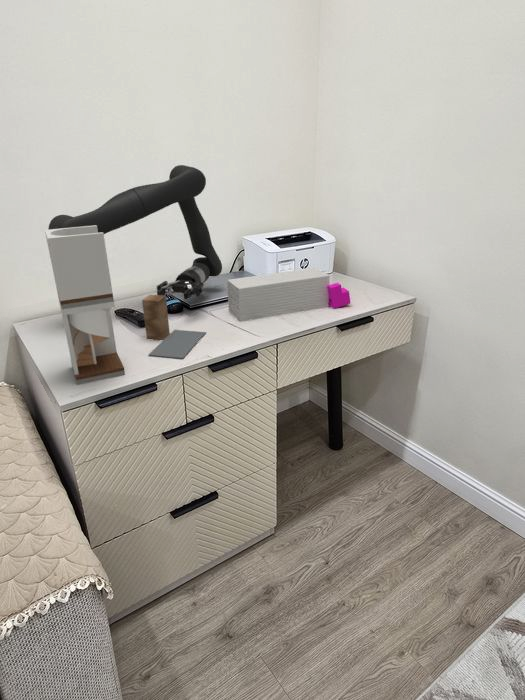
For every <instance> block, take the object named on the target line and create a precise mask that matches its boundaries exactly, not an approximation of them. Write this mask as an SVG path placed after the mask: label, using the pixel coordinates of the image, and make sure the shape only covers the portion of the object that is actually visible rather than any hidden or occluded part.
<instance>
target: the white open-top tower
mask: <svg viewBox="0 0 525 700" xmlns="http://www.w3.org/2000/svg"><path fill="white" fill-rule="evenodd" d="M44 234H45V238H46V243H47V247H48V252H49V258H50V264H51V268H52V272H53V276H54V281H55V282H54V283H55V287H56V292H57V298H58V301H59V302H58V303H59V306H60V313H61V316H62V321H63V326H64V327H63V328H64V332H65V337H66V341H67V346H68V351H69V356H70V362H71V366H72V371H73V375H74V378H75V382H76V385H82V384H87V383H91V382H96V381H101V380H105V379H111V378H116V377H119V376H120V377H121V376H124V375H126V372H125V367H124V365H123V362H122V360H121V358H120V356H119V353H118V352H117V351H118V350H117V345H116V339H115V338H116V337H115V332H114V326H113V320H112V319H113V318H112V315H111V313H112V312H111V309H113V308H115V301H114V293H113V287H112V280H111V279H112V278H111V273H110V268H109V260H108V254H107V248H106V240H105V234H104V233H103V232H101V233H98V229H97V225H94V226H83V227H72V228H61V229H50V230H48V229H45V230H44Z"/></svg>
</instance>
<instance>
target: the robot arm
mask: <svg viewBox="0 0 525 700" xmlns="http://www.w3.org/2000/svg"><path fill="white" fill-rule="evenodd" d="M168 177H169V178H168V180H165V181H162V182H157V183H150V184H145V185H143V184H142V185H140V186H139V185H138V186H135V187H131V188H129V189H127V190H125V191H122V192H120V193H117V194H115V195H114V196H112V197H111V198H109V199H108V200H107V201H106V202H105V203H103V204H102V205H101V206H99V207H98V208H96V209H95V210H94V209H93V210H92V211H89V212H85V213H84V214H80V215H75V216H72V215H68V214H59V215H56V216H54V217H53V218H51V220H50V222H49V224H48V227H47V230H50V229H61V228H72V227H83V226H94V225H97V229H98V233H101V232H103V233H104V235H107V234H108V233H110V232H113V231H115V230H119V229H121V228H123V227H126V226H127V225H130V224H133V223H135V222H137V221H139V220H141V219H144V218H146V217H149V216H150V215H153V214H155V213H157V212H160V211H161V210H164V209H165V208H168V207H169V206H171V205H174V204H178V206H179V208H180V211H181V214H182V216H183V219H184V222H185V225H186V228H187V231H188V236H189V239H190V244H191V246H192V248H191V249H192V250H193V252H194V254H197V255H201V256H202V257H197V258H195V259H193V262H192V265H191V266H190V267H188V268H187V269H185V270H183V271H182V272H180V274H178V275H177V277H176V278H175V281H173V282H169V283H168V280H164V281H162V282H161V283H160V284H158V285H157V286H156V290H157V292H156V295H164V296H167V295H171V296H172V295H174V294H182V295H183V300H188V299H190V298H191V297H195V296H196V297H199V296H201V295H202V293H203V292H204V291H205V285H204V284H205V283H206V282H207V281H208V279H209V277H218V276H219V275H221V274H222V271H223V264H222V261H221V259H220V257H219V255H218V253H217V252H216V250H215V248H214V246H213V243H212V240H211V239H212V238H211V234H210V231H209V228H208V225H207V223H206V220H205V219H204V216H203V215H202V213H201V212H200V211H201V210H200V209H199V207H198V204H197V202H196V198H195V197H197V196H199V195H200V194H201V193H203V191H204V190H205V188H206V183H207V180H206V176H205V174H204V173H203V172H202V171H201V170H200V169H198V168H197V167H193V166H188V165H184V164H183V165H182V164H179V165H176V166H174V167H173V168H172V169H171V171H170V173H169V176H168ZM194 295H195V296H194Z"/></svg>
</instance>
